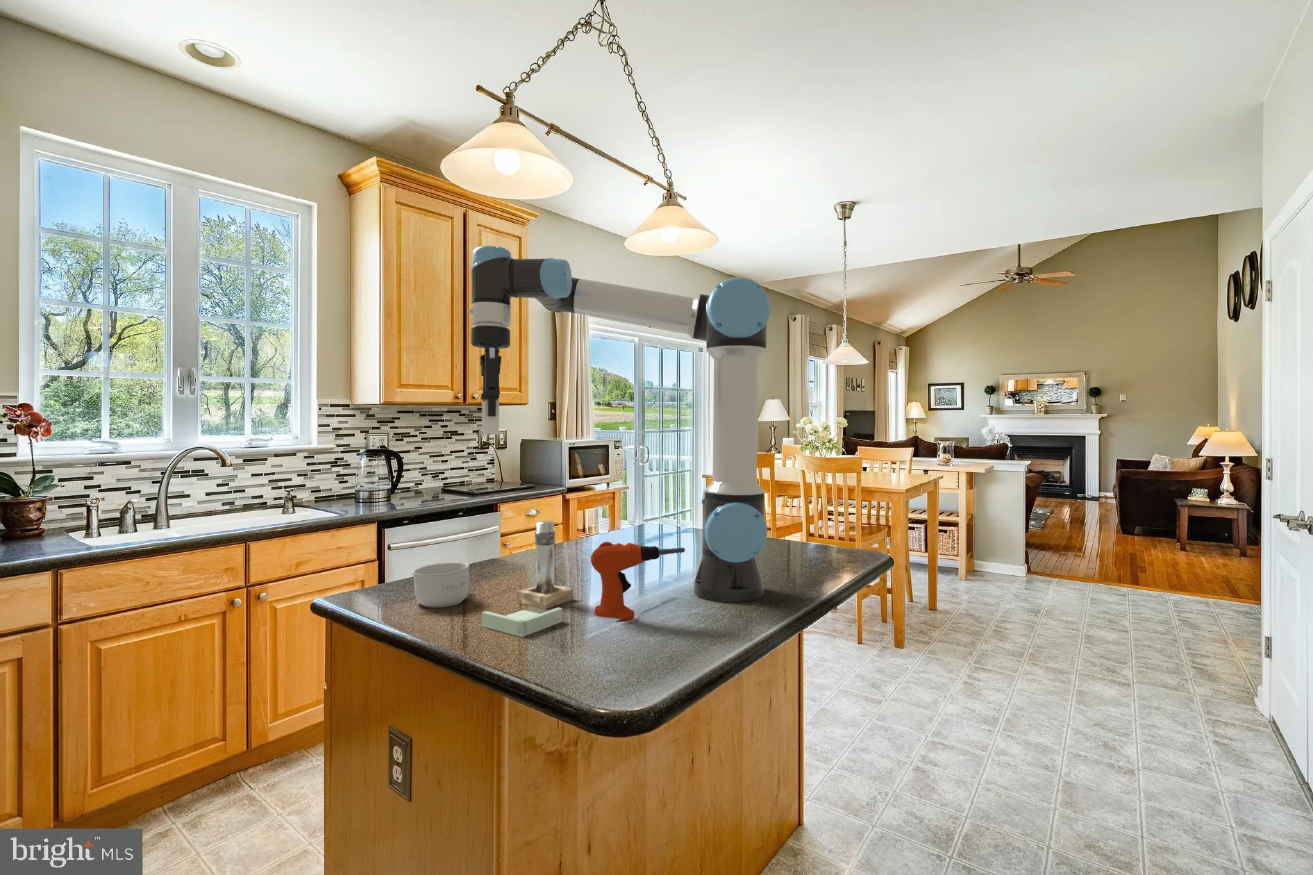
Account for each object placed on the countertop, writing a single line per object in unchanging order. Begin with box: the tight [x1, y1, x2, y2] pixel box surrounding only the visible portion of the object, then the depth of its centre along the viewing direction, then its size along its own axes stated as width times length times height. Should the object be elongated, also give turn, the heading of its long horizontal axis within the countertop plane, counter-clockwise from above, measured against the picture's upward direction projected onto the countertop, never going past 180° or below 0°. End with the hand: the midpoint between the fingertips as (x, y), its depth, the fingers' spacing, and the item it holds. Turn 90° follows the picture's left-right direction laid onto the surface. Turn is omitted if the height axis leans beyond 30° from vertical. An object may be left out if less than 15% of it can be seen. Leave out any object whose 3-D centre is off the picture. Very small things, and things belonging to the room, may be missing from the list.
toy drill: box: [590, 541, 686, 623], centre depth 117 cm, size 5×19×15 cm, turn 82°
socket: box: [516, 584, 574, 610], centre depth 127 cm, size 8×8×3 cm
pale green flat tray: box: [481, 607, 563, 638], centre depth 112 cm, size 10×10×3 cm
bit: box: [534, 520, 556, 594], centre depth 127 cm, size 4×4×16 cm
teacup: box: [412, 560, 470, 609], centre depth 127 cm, size 14×11×8 cm
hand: (489, 433), depth 124 cm, fingers open, 13 cm apart
